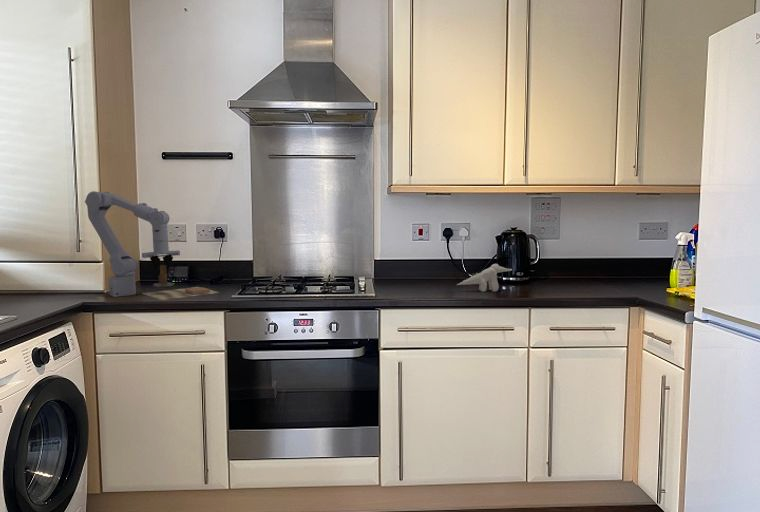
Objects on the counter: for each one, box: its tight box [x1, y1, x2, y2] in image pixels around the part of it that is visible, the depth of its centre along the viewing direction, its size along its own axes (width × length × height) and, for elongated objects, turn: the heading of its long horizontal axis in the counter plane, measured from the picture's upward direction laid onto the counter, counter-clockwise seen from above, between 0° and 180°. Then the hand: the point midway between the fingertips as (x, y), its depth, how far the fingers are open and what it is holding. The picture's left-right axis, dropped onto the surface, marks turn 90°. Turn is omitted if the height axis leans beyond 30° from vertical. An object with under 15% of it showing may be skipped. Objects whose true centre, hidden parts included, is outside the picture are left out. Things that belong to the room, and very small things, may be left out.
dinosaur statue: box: [456, 263, 513, 293], centre depth 218 cm, size 7×24×11 cm, turn 94°
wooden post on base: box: [153, 264, 174, 288], centre depth 215 cm, size 6×5×8 cm
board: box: [141, 286, 221, 301], centre depth 217 cm, size 24×22×1 cm
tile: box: [185, 286, 211, 295], centre depth 217 cm, size 7×2×8 cm
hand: (162, 274), depth 215 cm, fingers closed on wooden post on base, 2 cm apart
